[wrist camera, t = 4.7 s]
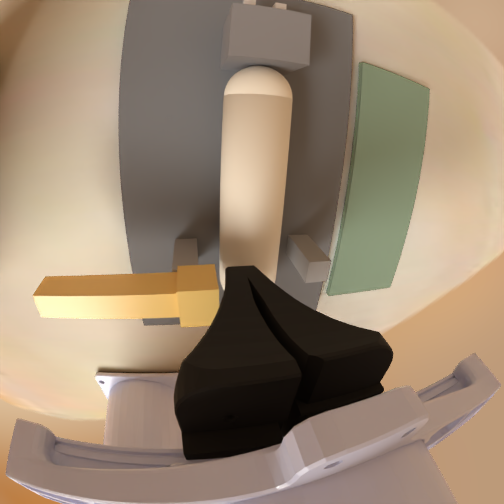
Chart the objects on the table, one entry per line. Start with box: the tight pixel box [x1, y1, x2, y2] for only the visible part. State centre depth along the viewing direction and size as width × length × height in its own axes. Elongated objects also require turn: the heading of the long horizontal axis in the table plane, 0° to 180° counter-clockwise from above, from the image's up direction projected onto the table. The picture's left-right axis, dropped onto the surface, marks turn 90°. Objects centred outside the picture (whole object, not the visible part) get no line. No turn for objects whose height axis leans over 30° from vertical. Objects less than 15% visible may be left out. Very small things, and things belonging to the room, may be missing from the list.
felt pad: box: [326, 62, 430, 296], centre depth 16 cm, size 16×6×1 cm, turn 177°
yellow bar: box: [33, 264, 219, 327], centre depth 11 cm, size 2×8×2 cm, turn 87°
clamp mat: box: [119, 0, 353, 325], centre depth 12 cm, size 20×12×4 cm, turn 177°
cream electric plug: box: [219, 0, 311, 290], centre depth 12 cm, size 16×3×3 cm, turn 177°
